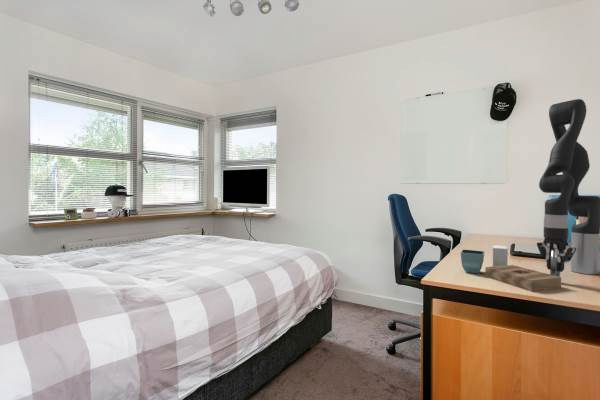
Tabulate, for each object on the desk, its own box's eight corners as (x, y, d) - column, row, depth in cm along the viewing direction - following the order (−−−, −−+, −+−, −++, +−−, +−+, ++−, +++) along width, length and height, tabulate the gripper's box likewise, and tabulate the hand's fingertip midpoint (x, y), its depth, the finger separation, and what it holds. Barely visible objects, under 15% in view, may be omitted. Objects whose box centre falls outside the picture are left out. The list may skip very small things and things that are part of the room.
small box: (507, 273, 139) (507, 248, 139) (492, 271, 142) (492, 247, 142) (507, 269, 146) (507, 246, 146) (492, 267, 149) (493, 245, 149)
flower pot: (484, 271, 143) (484, 250, 142) (483, 275, 135) (483, 254, 135) (462, 268, 147) (462, 249, 147) (460, 272, 140) (460, 252, 140)
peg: (553, 279, 127) (554, 249, 126) (561, 281, 124) (562, 250, 123) (548, 280, 126) (548, 249, 125) (556, 282, 123) (556, 251, 122)
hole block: (485, 276, 133) (485, 267, 133) (512, 274, 137) (512, 264, 137) (531, 291, 114) (531, 280, 114) (560, 288, 118) (561, 277, 118)
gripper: (583, 227, 118) (582, 274, 119) (545, 224, 132) (544, 265, 132) (567, 228, 116) (567, 276, 117) (530, 224, 130) (530, 267, 130)
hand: (555, 270), depth 125 cm, fingers closed on peg, 3 cm apart
